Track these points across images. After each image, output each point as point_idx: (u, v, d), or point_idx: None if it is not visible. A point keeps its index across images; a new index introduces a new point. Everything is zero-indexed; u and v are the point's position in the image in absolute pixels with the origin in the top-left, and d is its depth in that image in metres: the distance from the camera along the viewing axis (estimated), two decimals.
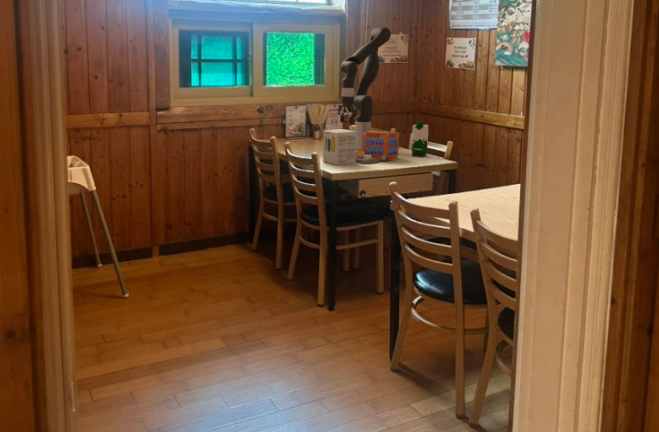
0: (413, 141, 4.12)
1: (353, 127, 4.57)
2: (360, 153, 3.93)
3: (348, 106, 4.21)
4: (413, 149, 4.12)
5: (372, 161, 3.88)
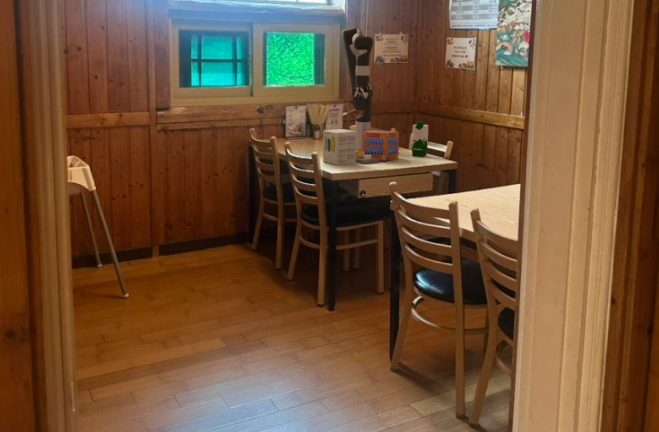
0: (413, 141, 4.12)
1: (354, 127, 4.56)
2: (360, 153, 3.93)
3: (363, 86, 3.83)
4: (413, 149, 4.12)
5: (372, 161, 3.88)
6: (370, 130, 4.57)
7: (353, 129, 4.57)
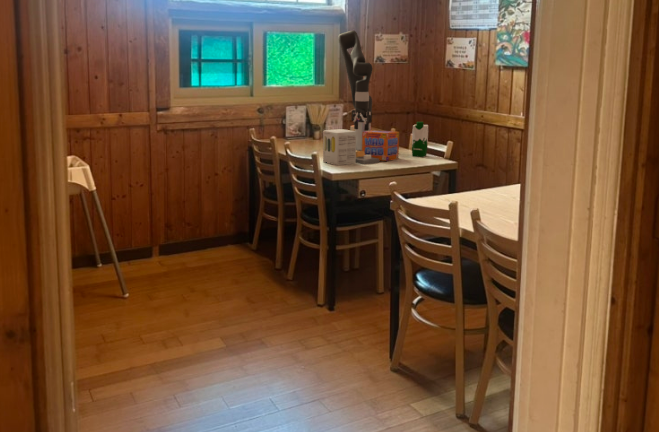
0: (413, 141, 4.12)
1: None
2: (360, 153, 3.93)
3: (363, 112, 3.86)
4: (413, 149, 4.12)
5: (372, 161, 3.88)
6: (370, 130, 4.57)
7: (353, 129, 4.57)
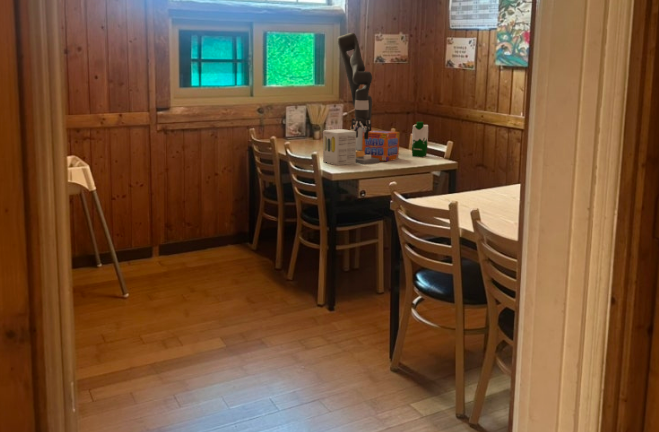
0: (413, 141, 4.12)
1: None
2: (360, 153, 3.93)
3: (362, 120, 3.87)
4: (413, 149, 4.12)
5: (372, 161, 3.88)
6: (371, 130, 4.57)
7: None
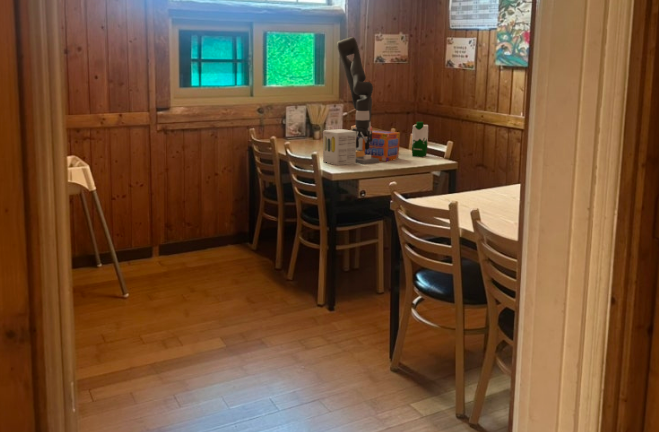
0: (413, 141, 4.12)
1: None
2: (360, 153, 3.93)
3: (363, 130, 3.87)
4: (413, 149, 4.12)
5: (372, 161, 3.88)
6: (371, 130, 4.56)
7: None
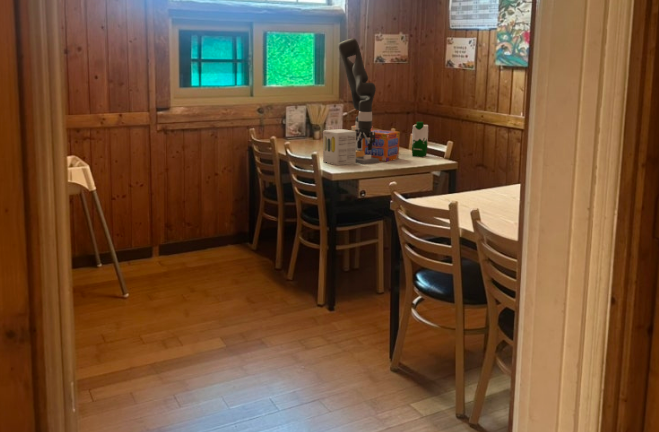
0: (413, 141, 4.12)
1: None
2: (360, 153, 3.93)
3: (366, 131, 3.86)
4: (413, 149, 4.12)
5: (372, 161, 3.88)
6: None
7: None
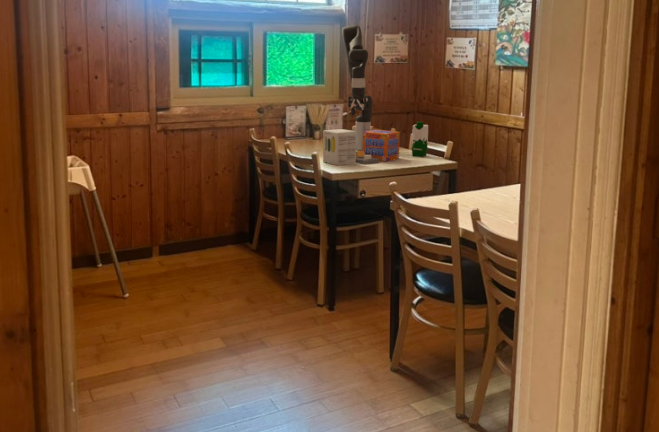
0: (413, 141, 4.12)
1: None
2: (360, 153, 3.93)
3: (359, 98, 3.91)
4: (413, 149, 4.12)
5: (372, 161, 3.88)
6: None
7: None
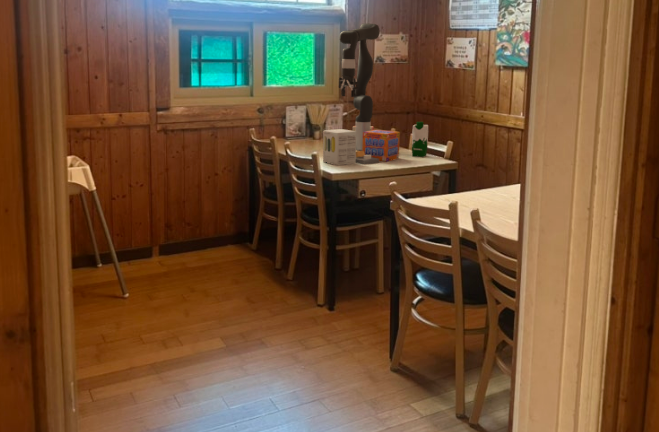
0: (413, 141, 4.12)
1: None
2: (360, 153, 3.93)
3: (349, 78, 4.00)
4: (413, 149, 4.12)
5: (372, 161, 3.88)
6: None
7: None
